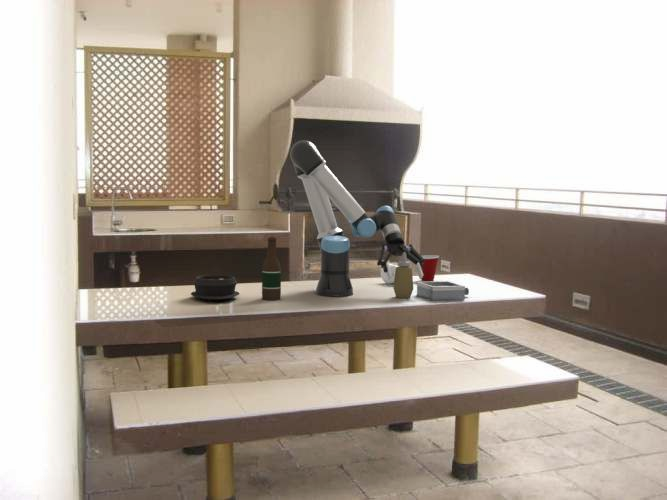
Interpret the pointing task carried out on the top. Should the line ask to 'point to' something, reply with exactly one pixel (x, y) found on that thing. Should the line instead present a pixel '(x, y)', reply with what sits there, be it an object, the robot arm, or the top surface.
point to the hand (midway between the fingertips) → (406, 277)
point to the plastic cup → (429, 267)
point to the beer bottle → (271, 273)
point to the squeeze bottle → (403, 279)
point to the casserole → (215, 287)
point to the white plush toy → (392, 269)
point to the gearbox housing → (441, 290)
